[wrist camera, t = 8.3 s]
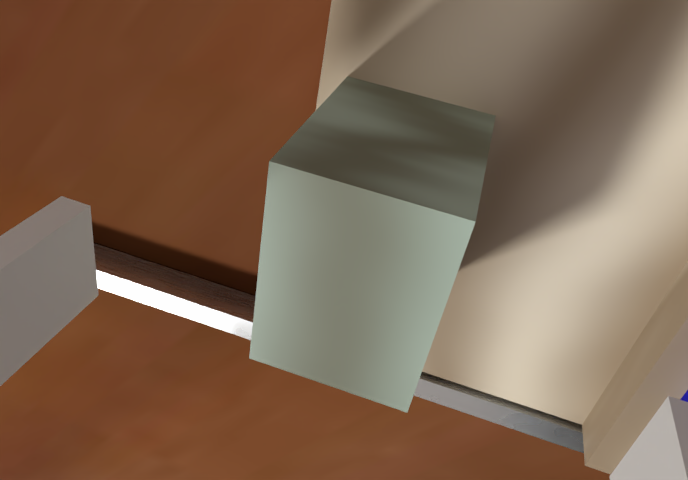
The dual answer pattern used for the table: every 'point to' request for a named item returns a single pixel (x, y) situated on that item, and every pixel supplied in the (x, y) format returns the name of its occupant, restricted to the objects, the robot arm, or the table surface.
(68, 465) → the table surface
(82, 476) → the table surface
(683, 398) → the puzzle cube
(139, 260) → the light grey flat piece
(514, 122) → the board with grey block
